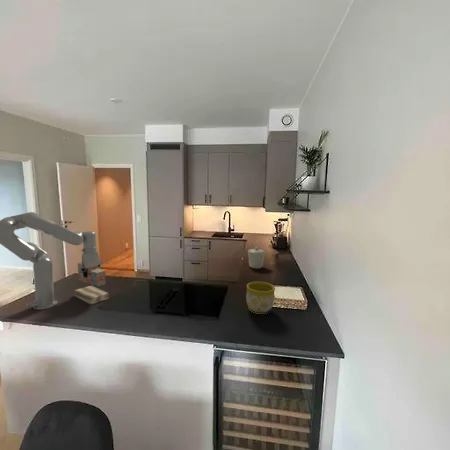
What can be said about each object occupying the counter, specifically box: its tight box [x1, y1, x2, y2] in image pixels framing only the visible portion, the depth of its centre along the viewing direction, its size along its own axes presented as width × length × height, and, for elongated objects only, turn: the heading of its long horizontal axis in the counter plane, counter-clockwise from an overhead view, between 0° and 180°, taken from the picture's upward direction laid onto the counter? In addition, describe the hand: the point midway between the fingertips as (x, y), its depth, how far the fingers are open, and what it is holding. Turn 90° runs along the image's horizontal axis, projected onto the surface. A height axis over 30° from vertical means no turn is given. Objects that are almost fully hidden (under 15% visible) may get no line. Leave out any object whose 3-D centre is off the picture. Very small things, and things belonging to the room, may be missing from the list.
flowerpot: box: [245, 281, 276, 315], centre depth 164 cm, size 18×18×16 cm
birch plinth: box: [73, 285, 110, 306], centre depth 176 cm, size 12×22×4 cm, turn 56°
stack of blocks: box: [77, 261, 106, 287], centre depth 174 cm, size 21×6×12 cm, turn 59°
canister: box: [247, 246, 266, 270], centre depth 260 cm, size 18×18×21 cm
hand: (90, 275), depth 174 cm, fingers closed on stack of blocks, 6 cm apart
